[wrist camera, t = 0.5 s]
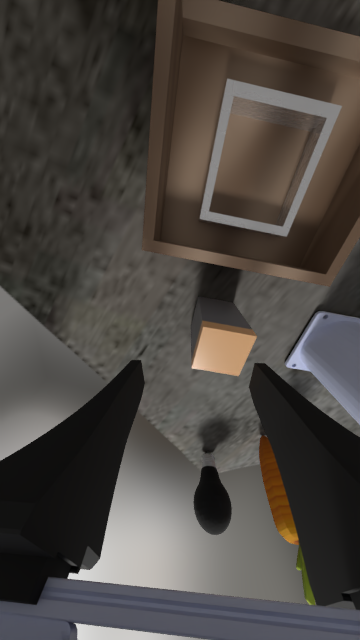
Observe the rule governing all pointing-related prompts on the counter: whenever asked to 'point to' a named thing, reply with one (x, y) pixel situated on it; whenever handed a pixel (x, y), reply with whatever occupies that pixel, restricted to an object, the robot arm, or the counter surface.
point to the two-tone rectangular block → (220, 337)
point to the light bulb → (211, 499)
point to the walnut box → (250, 141)
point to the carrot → (281, 507)
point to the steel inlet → (277, 111)
